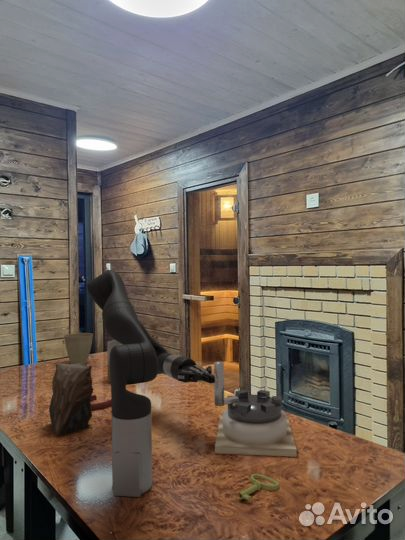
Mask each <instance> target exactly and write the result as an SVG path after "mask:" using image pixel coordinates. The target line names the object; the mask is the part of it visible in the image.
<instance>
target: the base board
mask: <svg viewBox="0 0 405 540" xmlns="http://www.w3.org/2000/svg"><path fill="white" fill-rule="evenodd" d="M218 422H219V423H218V426H217V427H218V428H217V433H216V437H215V443H214V454H220V455H221V454H222V455H223V454H225V455H242V456H243V455H246V456H270V457H272V456H273V457H293V458H294V457H295V458H296V457H297V456H298V455H297V450H298V449H297V447H296V443H295V438H294V436H293V432H292V428H291V424H290V421H289V418H288V417H287V436H286V437H285V438H284V439H283V440H282V441H280V442H277V443H274V444H269V445H247V444H242V443H238V442H235V441H233V440H230V439H229V438H227V437H226V436H225V435H224V433H223V415H220V417H219V421H218Z"/></svg>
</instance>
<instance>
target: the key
mask: <svg viewBox="0 0 405 540" xmlns="http://www.w3.org/2000/svg"><path fill="white" fill-rule="evenodd" d="M257 479H259V480H260V479H261V480H265V481H268V482H270V483H272V484H267V483H264V482H261V481H259V480H257ZM250 483H251V484H252V486H250V487H248V488H245V489H244V490H242V491H241V492H239V493H238V494H237V495H238V498H239V500H241V499H244V500H247V501H249V500H252V496H251V494H253V493H255V492H256V491H259V492H260V491H261V489H262V490H265V491H271V492H272V491H273V492H274V491H276V490H278V489H280V483H279V482H278V481H277V480H275V479H274V478H271V477H268V476H266V475H262V474H258V473H253V474H251V475H250Z"/></svg>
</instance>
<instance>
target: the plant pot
mask: <svg viewBox="0 0 405 540" xmlns="http://www.w3.org/2000/svg"><path fill="white" fill-rule="evenodd" d="M93 336H94V334H93V333H90V332H75V333H68V334H65V335H64V336H63V338H64V343H65V350H66V353H67V357H68V359H69V362H70V364H78V363H83V364H84V365H86V366H87V362H88V360H89V357H90V352H91V349H92V344H93V339H94V337H93Z"/></svg>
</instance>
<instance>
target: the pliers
mask: <svg viewBox="0 0 405 540" xmlns="http://www.w3.org/2000/svg"><path fill="white" fill-rule="evenodd" d="M97 399H98V397H97V395H96V394H92V396H91V400H90V404H91V412H93V411H99V410H100V409H101V410H105V409H108V408H110V407H112V406H111V399H108V400H106V401H103V402H102V401H101V402H98V403H96V402H95V403H91V402H94V400H95V401H97Z"/></svg>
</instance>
